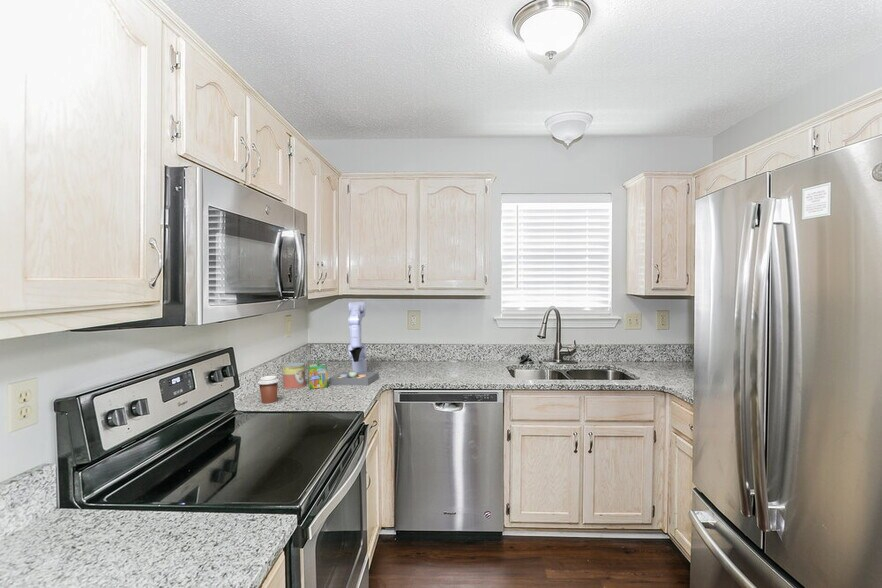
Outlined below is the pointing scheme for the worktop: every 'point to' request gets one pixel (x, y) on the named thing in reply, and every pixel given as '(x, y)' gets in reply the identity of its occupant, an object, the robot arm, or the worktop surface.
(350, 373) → the button sage
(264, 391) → the coffee cup
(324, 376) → the chalk box
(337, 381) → the console
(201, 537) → the worktop surface
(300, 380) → the canned food
